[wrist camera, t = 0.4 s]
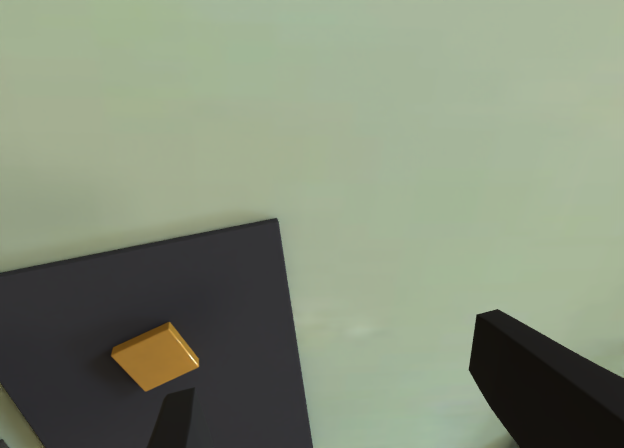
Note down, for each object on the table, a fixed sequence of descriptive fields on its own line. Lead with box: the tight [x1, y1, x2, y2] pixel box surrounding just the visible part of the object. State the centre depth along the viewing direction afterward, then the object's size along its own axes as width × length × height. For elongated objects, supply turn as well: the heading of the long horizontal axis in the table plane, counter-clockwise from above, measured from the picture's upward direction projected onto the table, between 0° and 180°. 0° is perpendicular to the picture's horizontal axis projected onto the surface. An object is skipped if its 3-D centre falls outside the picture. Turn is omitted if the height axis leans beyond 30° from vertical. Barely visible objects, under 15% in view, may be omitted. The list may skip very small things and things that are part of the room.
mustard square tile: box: [111, 322, 199, 392], centre depth 20 cm, size 3×3×1 cm
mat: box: [0, 218, 313, 448], centre depth 22 cm, size 18×14×1 cm
